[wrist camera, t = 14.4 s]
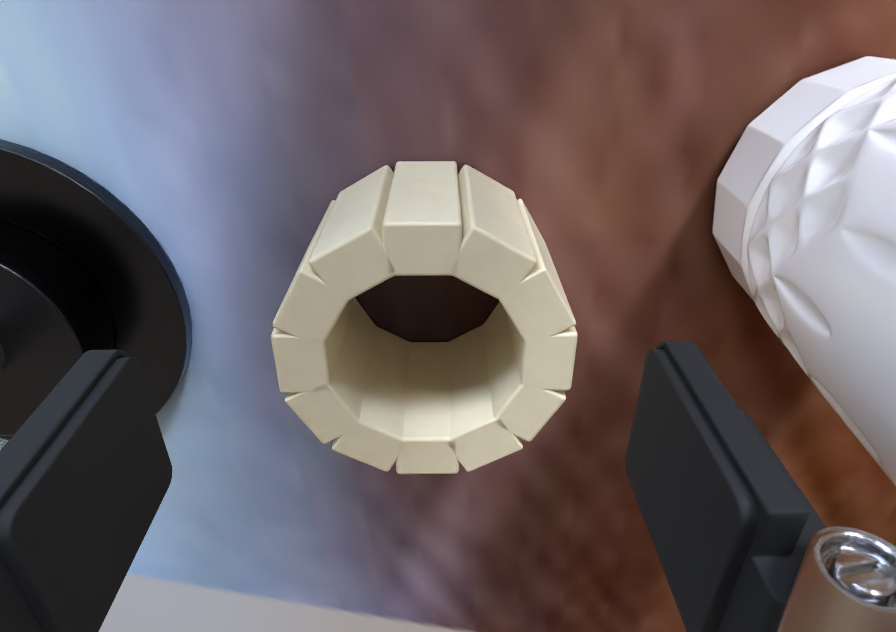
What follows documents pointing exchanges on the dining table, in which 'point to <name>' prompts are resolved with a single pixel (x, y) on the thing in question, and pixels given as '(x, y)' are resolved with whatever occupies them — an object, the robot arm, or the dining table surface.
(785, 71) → the dining table surface
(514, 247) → the tape roll
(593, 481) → the dining table surface
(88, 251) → the tape stand
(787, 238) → the white cup
